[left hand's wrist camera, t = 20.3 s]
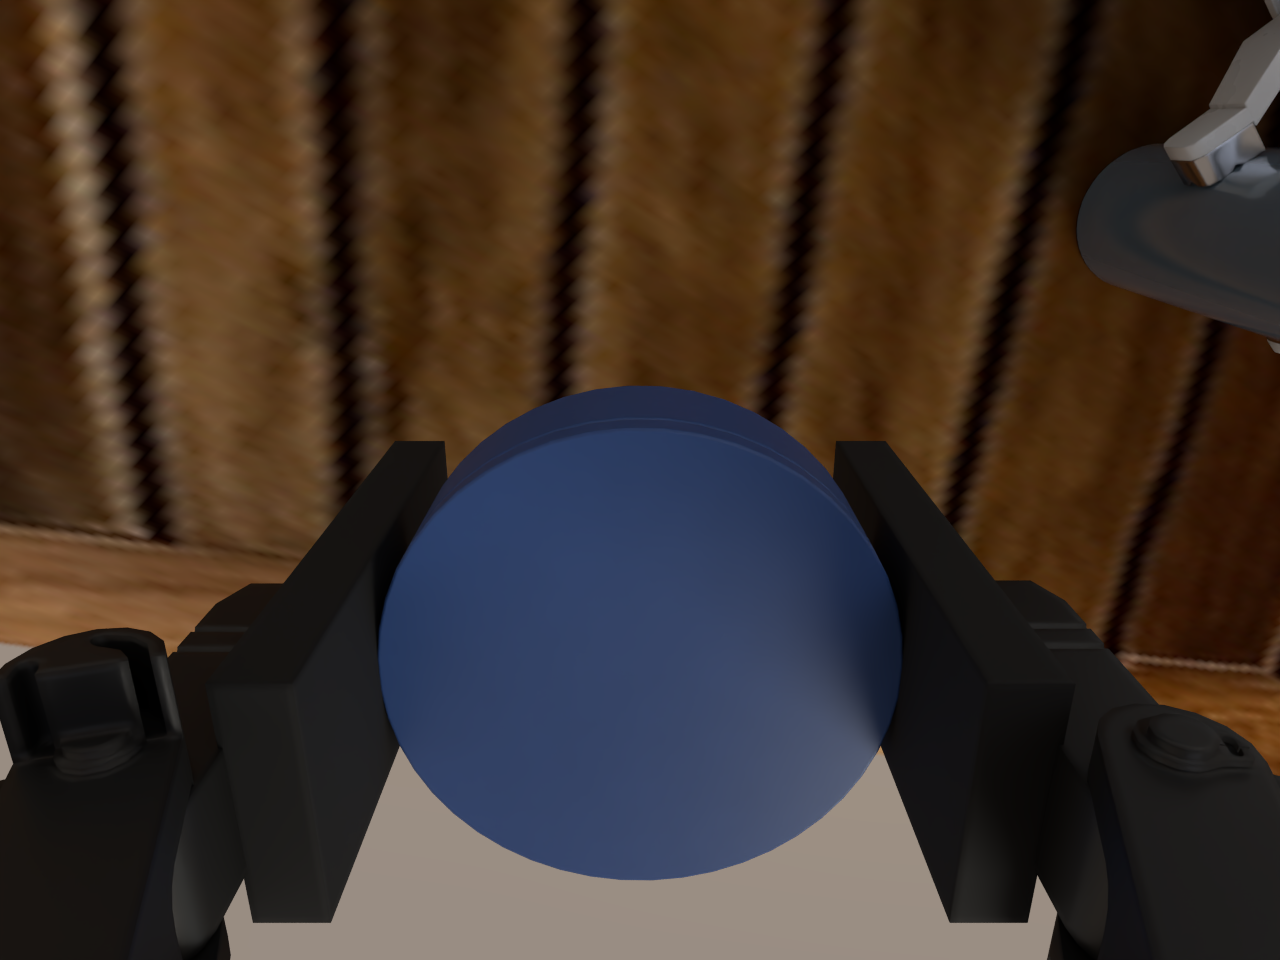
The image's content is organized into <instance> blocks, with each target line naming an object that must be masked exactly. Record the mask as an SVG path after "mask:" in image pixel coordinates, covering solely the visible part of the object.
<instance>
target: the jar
mask: <svg viewBox="0 0 1280 960" xmlns="http://www.w3.org/2000/svg"><path fill="white" fill-rule="evenodd" d="M1265 149H1266V150H1265V151H1263V152H1262V153H1260V154H1259V155H1258V156H1256V157H1255V158H1253V159H1252V160H1250V161H1248V162H1246V163H1245V164H1238V165H1235V167H1234V169H1233V171H1232V173H1230V174H1229V175H1228V176H1227V177H1225V178H1224V179H1223V180H1221V181H1219V182H1217V183H1215V184H1213V185H1211V186H1207V187H1198V186H1196V185H1195V184H1192V185H1191V186H1188V185H1184V184H1183V182H1182V180H1181V178H1180V176H1179V175H1178V173H1177V171H1176V169H1175V167H1174V165H1173V164H1172V162H1171V160H1170V158H1169V156H1168V154H1167V152H1166V151H1165V149H1164V143H1159V144H1150V145H1146V146H1142V147H1139V148H1136V149H1133V150H1131V151H1129V152H1127V153H1125V154H1123V155H1122V156H1120V157H1118V158H1117V159H1115V160H1114V161H1113V162H1112V163H1110V164H1109V165H1108V166H1107V167H1106V168H1105V169H1104V170H1103V171H1102V172H1101V173H1100V174H1099V175H1098V176H1097V178H1096V179H1095V180H1094V181H1093V183H1092V184H1091V186H1090V188H1089V189H1088V191H1087V193H1086V195H1085V197H1084V199H1083V201H1082V204H1081V207H1080V210H1079V215H1078V220H1077V240H1078V246H1079V249H1080V252H1081V255H1082V257H1083V259H1084V261H1085V263H1086V264H1087V266H1088V267H1089V269H1090V270H1091V271H1092V272H1093V273H1094V274H1095V275H1096V276H1097V277H1099V278H1100V279H1101V280H1103V281H1105V282H1107V283H1109V284H1111V285H1114V286H1117V287H1120V288H1123V289H1125V290H1128V291H1131V292H1134V293H1137V294H1140V295H1143V296H1146V297H1149V298H1152V299H1155V300H1158V301H1161V302H1164V303H1167V304H1170V305H1173V306H1176V307H1179V308H1182V309H1185V310H1188V311H1191V312H1194V313H1197V314H1200V315H1203V316H1206V317H1209V318H1212V319H1215V320H1218V321H1221V322H1224V323H1227V324H1230V325H1233V326H1236V327H1239V328H1242V329H1245V330H1248V331H1251V332H1254V333H1257V334H1260V335H1263V336H1266V337H1269V338H1272V339H1274V340H1277V341H1280V147H1265Z"/></svg>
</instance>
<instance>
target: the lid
mask: <svg viewBox="0 0 1280 960" xmlns="http://www.w3.org/2000/svg"><path fill="white" fill-rule="evenodd" d="M902 662H903V634H902V628H901V622H900V616H899V610H898V605H897V602H896V599H895V596H894V593H893V590H892V587H891V584H890V581H889V578H888V575H887V573H886V572H885V570H884V568H883V566H882V564H881V562H880V560H879V558H878V556H877V554H876V552H875V550H874V548H873V546H872V544H871V543H870V541H869V539H868V537H867V536H866V534H865V532H864V530H863V528H862V527H861V525H860V523H859V521H858V519H857V518H856V516H855V514H854V512H853V510H852V509H851V507H850V505H849V503H848V501H847V500H846V498H845V496H844V494H843V492H842V491H841V490H840V488H839V487H838V485H837V484H836V483H835V481H834V480H833V478H832V477H831V476H830V474H829V473H828V471H827V470H826V469H825V468H824V467H823V466H822V465H821V463H820V462H819V461H818V460H817V459H816V458H815V457H814V456H813V455H812V454H811V453H810V452H809V451H808V450H807V449H806V448H805V447H804V446H803V445H802V444H800V443H799V442H798V441H797V440H795V439H794V438H793V437H791V436H790V435H789V434H788V433H786V432H785V431H784V430H783V429H781V428H780V427H778V426H776V425H775V424H773V423H771V422H770V421H768V420H766V419H765V418H763V417H761V416H759V415H758V414H756V413H754V412H752V411H750V410H747V409H745V408H743V407H740V406H738V405H736V404H733V403H731V402H729V401H726V400H724V399H720V398H716V397H713V396H709V395H706V394H702V393H698V392H695V391H689V390H682V389H675V388H668V387H662V386H622V387H614V388H605V389H596V390H591V391H587V392H583V393H579V394H575V395H571V396H567V397H563V398H560V399H558V400H555V401H553V402H550V403H548V404H545V405H542V406H540V407H537V408H535V409H533V410H531V411H529V412H527V413H525V414H523V415H522V416H520V417H518V418H516V419H514V420H512V421H511V422H509V423H507V424H505V425H504V426H503V427H501V428H500V429H499V430H497V431H496V432H494V433H493V434H492V435H490V436H489V437H488V438H486V439H485V440H484V441H482V442H481V443H480V444H479V445H478V446H477V447H476V448H475V449H474V450H473V451H472V452H471V453H470V454H469V455H468V456H467V457H466V458H465V459H464V460H463V461H462V462H461V463H460V464H459V465H458V466H457V468H456V469H455V470H454V471H453V473H452V474H451V475H450V477H449V478H448V479H447V481H446V482H445V483H444V484H443V486H442V487H441V489H440V491H439V493H438V494H437V496H436V498H435V500H434V502H433V503H432V505H431V507H430V509H429V510H428V512H427V514H426V516H425V518H424V519H423V521H422V523H421V525H420V527H419V528H418V530H417V532H416V534H415V536H414V537H413V539H412V541H411V543H410V545H409V546H408V548H407V550H406V552H405V554H404V555H403V557H402V559H401V561H400V563H399V564H398V566H397V568H396V570H395V573H394V576H393V578H392V581H391V584H390V586H389V589H388V592H387V594H386V597H385V601H384V605H383V610H382V615H381V620H380V625H379V633H378V665H379V674H380V682H381V691H382V696H383V700H384V704H385V708H386V712H387V716H388V719H389V721H390V724H391V726H392V728H393V731H394V733H395V736H396V738H397V740H398V743H399V745H400V747H401V748H402V750H403V752H404V753H405V755H406V757H407V758H408V760H409V762H410V763H411V765H412V767H413V768H414V770H415V771H416V773H417V774H418V775H419V776H420V778H421V779H422V780H423V781H424V783H425V784H426V785H427V787H428V788H429V789H430V790H431V792H432V793H433V794H434V795H435V796H436V797H437V798H438V799H439V800H440V801H441V802H442V803H443V804H444V805H445V806H446V807H447V808H448V809H450V810H451V811H452V812H453V813H454V814H455V815H456V816H457V817H459V818H460V819H461V820H463V821H464V822H465V823H467V824H468V825H469V826H470V827H472V828H473V829H474V830H476V831H477V832H479V833H480V834H482V835H484V836H485V837H487V838H489V839H490V840H492V841H494V842H495V843H497V844H499V845H500V846H502V847H504V848H506V849H508V850H510V851H512V852H515V853H517V854H519V855H521V856H523V857H526V858H528V859H530V860H533V861H536V862H539V863H542V864H545V865H548V866H551V867H554V868H557V869H560V870H564V871H568V872H573V873H577V874H582V875H587V876H592V877H601V878H610V879H618V880H660V879H671V878H682V877H688V876H693V875H698V874H703V873H708V872H713V871H717V870H720V869H723V868H727V867H730V866H733V865H736V864H740V863H743V862H745V861H748V860H750V859H752V858H755V857H757V856H759V855H762V854H764V853H766V852H769V851H771V850H773V849H775V848H776V847H778V846H780V845H782V844H783V843H785V842H787V841H789V840H791V839H792V838H794V837H796V836H798V835H799V834H800V833H802V832H803V831H805V830H806V829H807V828H809V827H810V826H811V825H813V824H814V823H816V822H817V821H818V820H820V819H821V818H822V817H823V816H824V815H825V814H827V813H828V812H829V811H830V810H831V809H832V808H833V807H834V806H835V805H836V804H837V803H838V802H840V801H841V800H842V799H843V798H844V797H845V795H846V794H847V793H848V792H849V791H850V790H851V788H852V787H853V786H854V785H855V783H856V782H857V781H858V780H859V779H860V778H861V776H862V775H863V774H864V772H865V770H866V769H867V767H868V766H869V764H870V763H871V761H872V759H873V758H874V756H875V755H876V753H877V752H878V750H879V748H880V746H881V743H882V741H883V739H884V737H885V735H886V733H887V730H888V728H889V726H890V724H891V720H892V717H893V713H894V710H895V707H896V703H897V700H898V695H899V687H900V679H901V671H902Z"/></svg>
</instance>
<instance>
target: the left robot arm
mask: <svg viewBox="0 0 1280 960" xmlns="http://www.w3.org/2000/svg"><path fill="white" fill-rule="evenodd" d="M833 480H834V481H835V483H836V484H837V485H838V487H839V488H840V490H841V491H842V492H843V494H844V496H845V498H846V500H847V501H848V503H849V505H850V507H851V509H852V510H853V512H854V514H855V516H856V518H857V519H858V521H859V523H860V525H861V527H862V528H863V530H864V532H865V534H866V536H867V537H868V539H869V541H870V543H871V544H872V546H873V548H874V550H875V552H876V554H877V556H878V558H879V560H880V562H881V564H882V566H883V568H884V570H885V572H886V573H887V575H888V578H889V581H890V584H891V587H892V590H893V593H894V596H895V599H896V602H897V605H898V610H899V616H900V622H901V628H902V634H903V662H902V671H901V679H900V687H899V695H898V700H897V703H896V707H895V710H894V713H893V717H892V720H891V724H890V726H889V728H888V730H887V733H886V735H885V737H884V739H883V741H882V743H881V748H882V750H883V753H884V755H885V758H886V760H887V763H888V766H889V768H890V771H891V773H892V776H893V778H894V781H895V783H896V786H897V788H898V791H899V794H900V796H901V799H902V801H903V804H904V807H905V809H906V812H907V814H908V817H909V819H910V822H911V825H912V827H913V830H914V832H915V835H916V837H917V840H918V843H919V845H920V848H921V850H922V853H923V855H924V858H925V860H926V863H927V866H928V868H929V871H930V873H931V876H932V878H933V881H934V883H935V886H936V889H937V891H938V894H939V896H940V899H941V902H942V904H943V907H944V909H945V912H946V914H947V917H948V920H949V922H950V923H1027V922H1028V918H1029V913H1030V908H1031V903H1032V898H1033V893H1034V889H1035V883H1036V879H1037V875H1038V877H1039V879H1040V881H1041V883H1042V885H1043V886H1044V888H1045V890H1046V892H1047V894H1048V896H1049V898H1050V900H1051V901H1052V903H1053V905H1054V907H1055V909H1056V911H1057V917H1056V921H1055V926H1054V930H1053V935H1052V939H1051V944H1050V949H1049V954H1048V958H1047V960H1280V776H1276V775H1273V773H1272V771H1271V769H1270V767H1269V765H1268V763H1267V762H1266V761H1265V759H1264V758H1263V757H1262V756H1261V755H1260V753H1259V752H1258V751H1257V750H1256V748H1255V747H1254V746H1253V745H1252V744H1251V743H1250V742H1248V741H1247V740H1245V739H1244V738H1243V737H1241V736H1240V735H1238V734H1237V733H1235V732H1234V731H1232V730H1231V729H1229V728H1228V727H1227V726H1224V725H1222V724H1220V723H1217V722H1215V721H1213V720H1211V719H1208V718H1206V717H1204V716H1201V715H1199V714H1197V713H1194V712H1190V711H1186V710H1182V709H1178V708H1174V707H1170V706H1166V705H1159V704H1158V703H1157V702H1156V701H1155V700H1154V699H1153V698H1152V697H1151V696H1150V694H1149V693H1148V692H1147V691H1146V690H1145V689H1144V688H1143V687H1142V686H1141V684H1140V683H1139V682H1138V681H1137V680H1136V679H1135V678H1134V677H1133V676H1132V674H1131V673H1130V672H1129V671H1128V670H1127V669H1126V668H1125V667H1124V666H1123V664H1122V663H1121V662H1120V661H1119V660H1118V659H1117V658H1116V657H1115V656H1114V654H1113V653H1112V652H1111V651H1110V650H1109V649H1104V643H1103V642H1102V641H1101V640H1100V639H1099V638H1098V637H1097V636H1096V634H1095V633H1094V632H1093V631H1092V630H1091V629H1087V628H1086V623H1085V622H1084V621H1083V620H1082V619H1081V618H1080V617H1079V616H1078V615H1077V613H1076V612H1075V611H1074V610H1073V609H1072V608H1071V607H1070V606H1069V605H1068V603H1067V602H1066V601H1065V600H1063V599H1061V598H1059V597H1058V596H1056V595H1054V594H1053V593H1051V592H1049V591H1047V590H1046V589H1044V588H1042V587H1040V586H1039V585H1037V584H1035V583H1034V582H1032V581H995V580H994V579H993V578H992V576H991V575H990V574H989V573H988V571H987V570H986V569H985V567H984V566H983V565H982V564H981V562H980V561H979V560H978V559H977V557H976V556H975V555H974V553H973V552H972V551H971V550H970V548H969V547H968V546H967V544H966V543H965V542H964V541H963V539H962V538H961V537H960V536H959V534H958V533H957V532H956V530H955V529H954V528H953V527H952V525H951V524H950V523H949V522H948V520H947V519H946V518H945V516H944V515H943V514H942V513H941V511H940V510H939V509H938V508H937V506H936V505H935V504H934V502H933V501H932V500H931V499H930V497H929V496H928V495H927V494H926V492H925V491H924V490H923V488H922V487H921V486H920V485H919V483H918V482H917V481H916V480H915V478H914V477H913V476H912V474H911V473H910V472H909V471H908V469H907V468H906V467H905V466H904V464H903V463H902V462H901V460H900V459H899V458H898V457H897V455H896V454H895V453H894V452H893V450H892V449H891V448H890V446H889V445H888V444H887V443H886V441H836V449H835V461H834V474H833ZM446 481H447V467H446V454H445V442H444V441H395V442H394V443H393V445H392V446H391V447H390V448H389V450H388V451H387V452H386V454H385V455H384V456H383V457H382V459H381V460H380V461H379V462H378V464H377V465H376V466H375V468H374V469H373V470H372V471H371V473H370V474H369V475H368V476H367V478H366V479H365V480H364V482H363V483H362V484H361V485H360V487H359V488H358V489H357V491H356V492H355V493H354V494H353V496H352V497H351V498H350V499H349V501H348V502H347V503H346V505H345V506H344V507H343V508H342V510H341V511H340V512H339V513H338V515H337V516H336V517H335V519H334V520H333V521H332V522H331V524H330V525H329V526H328V527H327V529H326V530H325V531H324V533H323V534H322V535H321V536H320V538H319V539H318V540H317V541H316V543H315V544H314V545H313V547H312V548H311V549H310V550H309V552H308V553H307V554H306V555H305V557H304V558H303V559H302V561H301V562H300V563H299V564H298V566H297V567H296V568H295V569H294V571H293V572H292V573H291V575H290V576H289V577H288V578H287V580H286V581H285V582H284V583H283V584H249V585H247V586H246V587H244V588H242V589H241V590H239V591H237V592H235V593H234V594H232V595H230V596H229V597H227V598H225V599H223V600H222V601H220V602H218V603H217V604H215V606H214V607H213V608H212V609H211V610H210V611H209V612H208V613H207V615H206V616H205V617H204V618H203V619H202V620H201V621H200V622H199V623H198V625H197V626H196V627H195V632H190V634H189V635H188V636H187V637H186V638H185V639H184V640H183V641H182V643H181V644H180V645H179V646H178V647H177V648H178V650H177V652H173V653H172V654H171V655H170V656H169V657H168V658H167V653H166V649H165V644H164V641H163V640H162V639H160V638H159V637H157V636H156V635H154V634H153V633H151V632H149V631H144V630H138V629H132V628H110V629H96V630H91V631H86V632H82V633H77V634H73V635H68V636H64V637H61V638H58V639H56V640H53V641H50V642H48V643H45V644H42V645H40V646H37V647H34V648H32V649H30V650H28V651H27V652H25V653H23V654H21V655H20V656H18V657H16V658H14V659H13V660H11V661H9V662H8V663H6V664H5V665H4V666H3V667H2V668H1V669H0V721H1V724H2V728H3V731H4V734H5V738H6V741H7V744H8V748H9V751H10V754H11V758H12V761H13V765H12V767H11V769H10V771H9V773H8V775H7V777H6V779H5V780H1V781H0V960H230V956H231V954H230V947H229V941H228V935H227V930H226V926H225V921H224V915H225V913H226V911H227V909H228V907H229V906H230V903H231V902H232V900H233V898H234V896H235V894H236V892H237V890H238V889H239V887H240V885H241V883H242V881H243V879H244V880H245V885H246V890H247V895H248V900H249V905H250V910H251V915H252V920H253V923H331V921H332V918H333V916H334V913H335V911H336V908H337V906H338V903H339V900H340V898H341V895H342V893H343V890H344V888H345V885H346V883H347V880H348V877H349V875H350V872H351V870H352V867H353V864H354V862H355V859H356V857H357V854H358V852H359V849H360V847H361V844H362V841H363V839H364V836H365V834H366V831H367V829H368V826H369V823H370V821H371V818H372V816H373V813H374V811H375V808H376V805H377V803H378V800H379V798H380V795H381V793H382V790H383V787H384V785H385V782H386V780H387V777H388V775H389V772H390V770H391V767H392V764H393V762H394V759H395V757H396V754H397V752H398V749H399V746H400V745H399V743H398V740H397V738H396V736H395V733H394V731H393V728H392V726H391V724H390V721H389V719H388V716H387V712H386V708H385V704H384V700H383V696H382V691H381V682H380V674H379V665H378V633H379V625H380V620H381V615H382V610H383V605H384V601H385V597H386V594H387V592H388V589H389V586H390V584H391V581H392V578H393V576H394V573H395V570H396V568H397V566H398V564H399V563H400V561H401V559H402V557H403V555H404V554H405V552H406V550H407V548H408V546H409V545H410V543H411V541H412V539H413V537H414V536H415V534H416V532H417V530H418V528H419V527H420V525H421V523H422V521H423V519H424V518H425V516H426V514H427V512H428V510H429V509H430V507H431V505H432V503H433V502H434V500H435V498H436V496H437V494H438V493H439V491H440V489H441V487H442V486H443V484H444V483H445V482H446Z"/></svg>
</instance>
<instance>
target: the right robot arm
mask: <svg viewBox="0 0 1280 960" xmlns="http://www.w3.org/2000/svg"><path fill="white" fill-rule="evenodd" d="M1264 2H1265V4H1266V6H1267V8H1268V10H1269V12H1270V14H1271V16H1272V18H1273V20H1271V21H1270V22H1269V23H1267V24H1266V25H1265V26H1263V27H1262V28H1261V29H1259V30H1258V31H1257V32H1255V33H1254V34H1252V35H1251V36H1250V37H1248V38H1247V39H1246V40H1244V41H1243V43H1242V45H1241V46H1240V48H1239V50H1238V52H1237V54H1236V56H1235V57H1234V59H1233V61H1232V63H1231V65H1230V67H1229V69H1228V70H1227V72H1226V74H1225V76H1224V78H1223V80H1222V82H1221V83H1220V85H1219V87H1218V89H1217V91H1216V93H1215V95H1214V96H1213V98H1212V100H1211V102H1210V104H1209V107H1210V109H1209V110H1208V111H1206V112H1205V113H1204V114H1202V115H1201V116H1200V117H1198V118H1197V119H1195V120H1194V121H1193V122H1191V123H1190V124H1188V125H1187V126H1186V127H1184V128H1183V129H1181V130H1180V131H1179V132H1177V133H1176V134H1175V135H1173V136H1172V137H1170V138H1169V139H1168V140H1167V141H1166V142H1165V143H1164V149H1165V151H1166V152H1167V154H1168V156H1169V158H1170V160H1171V162H1172V164H1173V165H1174V167H1175V169H1176V171H1177V173H1178V175H1179V176H1180V178H1181V180H1182V182H1183V184H1184V185H1188V186H1191V185H1192V184H1195V185H1196V186H1198V187H1207V186H1211V185H1213V184H1215V183H1217V182H1219V181H1221V180H1223V179H1224V178H1225V177H1227V176H1228V175H1229V174H1230V173H1232V171H1233V169H1234V167H1235V165H1238V164H1245V163H1246V162H1248V161H1250V160H1252V159H1253V158H1255V157H1256V156H1258V155H1259V154H1260V153H1262V152H1263V151H1265V150H1266V149H1265V147H1264V145H1263V143H1262V140H1261V138H1260V136H1259V134H1258V132H1257V129H1256V127H1255V125H1257V124H1258V123H1259V121H1260V120H1261V118H1262V117H1263V115H1264V113H1265V112H1266V110H1267V109H1268V107H1269V106H1270V104H1271V103H1272V101H1273V100H1274V98H1275V96H1276V95H1277V93H1278V92H1279V90H1280V0H1264ZM1266 338H1267V341H1268V342H1269V344H1270V346H1271V347H1272V349H1273V350H1274V352H1276V353H1279V354H1280V341H1277V340H1274V339H1272V338H1269V337H1266Z"/></svg>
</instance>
